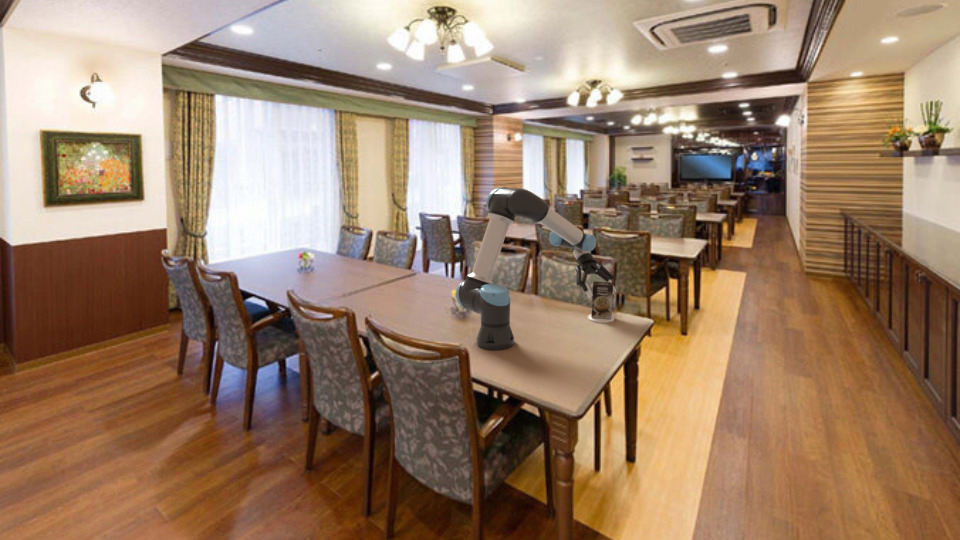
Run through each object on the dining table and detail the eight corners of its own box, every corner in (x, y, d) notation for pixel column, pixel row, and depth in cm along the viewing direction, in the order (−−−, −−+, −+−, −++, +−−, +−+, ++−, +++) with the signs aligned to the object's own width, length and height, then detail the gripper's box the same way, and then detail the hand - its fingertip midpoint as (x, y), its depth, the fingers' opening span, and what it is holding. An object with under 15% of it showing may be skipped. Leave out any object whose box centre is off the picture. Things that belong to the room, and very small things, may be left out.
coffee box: (591, 318, 224) (592, 284, 220) (591, 314, 230) (593, 280, 226) (611, 320, 221) (613, 285, 217) (612, 315, 227) (613, 281, 224)
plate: (599, 324, 218) (599, 322, 218) (582, 317, 228) (582, 315, 228) (620, 320, 223) (620, 318, 223) (602, 313, 233) (602, 311, 233)
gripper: (600, 258, 241) (620, 295, 231) (558, 263, 231) (576, 302, 221) (608, 249, 235) (628, 287, 225) (565, 254, 225) (584, 294, 215)
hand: (602, 294), depth 223 cm, fingers open, 13 cm apart
